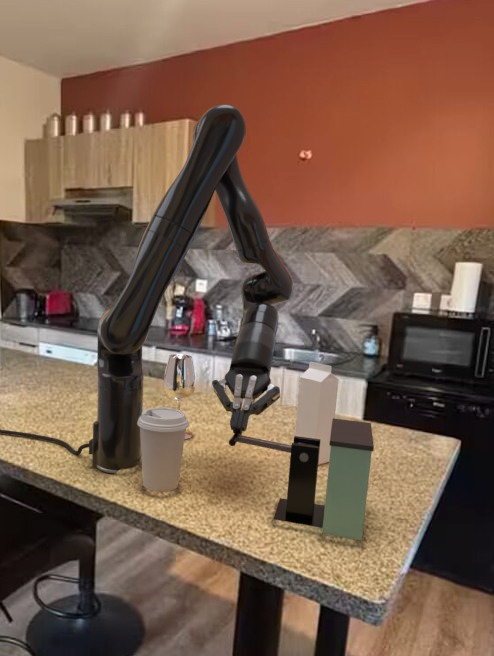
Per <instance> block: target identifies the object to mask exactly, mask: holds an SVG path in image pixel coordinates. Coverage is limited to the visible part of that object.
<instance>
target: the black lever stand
mask: <svg viewBox="0 0 494 656" xmlns="http://www.w3.org/2000/svg"><path fill="white" fill-rule="evenodd" d="M298 442H302V443H307V444H312V445H315V446H312V445H305V444H298ZM290 445H291V453H290V455H289V456H290V458H289V469H288V482H287V493H286V498H281V497H280V498H279V499H278V503H277V506H276V509H275V513H274V515H273V521H280V522H286V523H292V524H298V525H303V526H308V527H309V526H310V527H314V528H320V529H323V520H324V510H325V504H324V505H323V504H318V503H316V493H317V492H316V491H317V482H318V471H319V465H318V462H319V451H320V439H314V438H307V437H299V436H295V435H294V436H293V441H292V443H291V444H290Z"/></svg>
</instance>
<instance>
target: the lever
mask: <svg viewBox="0 0 494 656" xmlns="http://www.w3.org/2000/svg"><path fill="white" fill-rule="evenodd" d="M237 443H240V444H244V445H245V444H246V445H250V446H256V447H259V448H260V447H261V448H265V449H270V450H275V451H280V452H284V453H289V454H291V445H292V444H286V443H281V442H276V441H271V440H266V439H261V438H257V437H252V436H247V435H243V433H242V434H236V433H233V434H232V436H231V437H230V439H229V440H228V445H229V447H234V446H236V445H237ZM298 444H305V445H312V444H307V443H302V442H298ZM312 446H315V445H312Z"/></svg>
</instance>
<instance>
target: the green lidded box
mask: <svg viewBox="0 0 494 656" xmlns="http://www.w3.org/2000/svg"><path fill="white" fill-rule="evenodd" d="M329 445H330V446H331V448H330V458H329V462H328V470H327V479H326V480H327V481H326V491H325V500H324V506H325V510H324V520H323V528H322V530H321V535H327V536H332V537H339V538H344V539H350V540H354V541H363V536H364V535H363V534H364V528H365V527H364V526H365V516H366V507H367V498H368V490H369V482H370V481H369V480H370V472H371V462H372V453H373V452H374V450H375V449H374V448H375V444H374V437H373V429H372V423H371V422H366V421H358V420H351V419H341V418H335V419H334V418H333V419H332V427H331V435H330V444H329Z"/></svg>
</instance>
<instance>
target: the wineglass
mask: <svg viewBox="0 0 494 656" xmlns="http://www.w3.org/2000/svg"><path fill="white" fill-rule="evenodd" d="M195 373H196V372H195V366H194V361H193V356H192V355H191V354H190V355H189V354H184V353H183V354H182V353H175V354H170V355H168V360H167V363H166V366H165V371H164V376H163V382H162V384H163V385H162V386H163V391H164V393H165V395H166V396H167V397H168V398H169V399H170V400H171V401H173V402H175V406H176V409H178V410H181V404H182V403H183V402H185V401H187V400H189V399H190V398H191V397H192V396H193V394H194V393H195V390H196V374H195ZM192 437H193V434H192V433H191V432H190V431H188V430H186V433H185V440H188V439H190V438H191V439H192Z"/></svg>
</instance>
